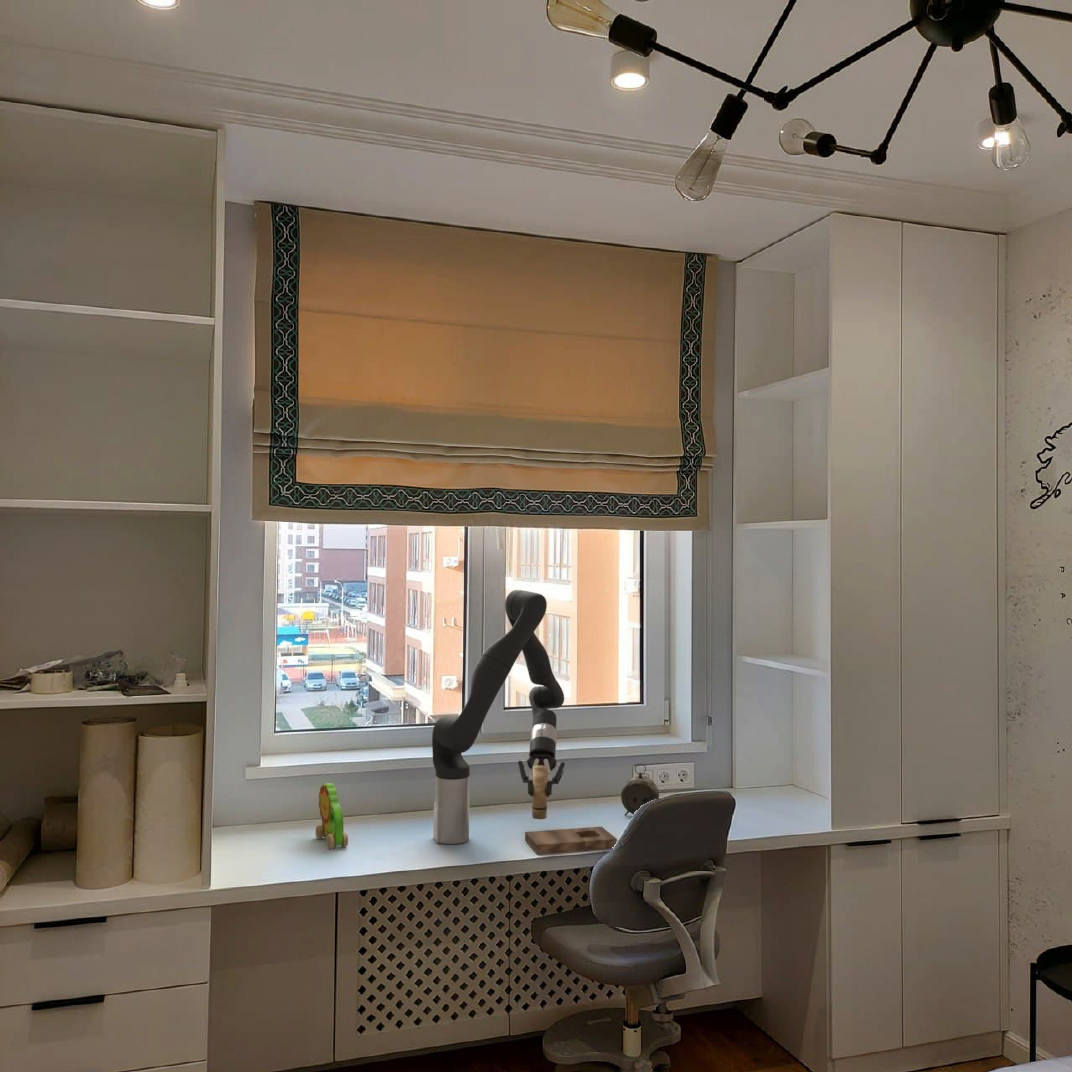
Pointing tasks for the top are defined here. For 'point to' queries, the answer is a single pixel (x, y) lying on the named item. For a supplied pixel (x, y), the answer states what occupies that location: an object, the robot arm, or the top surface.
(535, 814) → the oak peg
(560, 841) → the walnut board
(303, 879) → the top surface
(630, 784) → the alarm clock
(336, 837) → the toy lion
